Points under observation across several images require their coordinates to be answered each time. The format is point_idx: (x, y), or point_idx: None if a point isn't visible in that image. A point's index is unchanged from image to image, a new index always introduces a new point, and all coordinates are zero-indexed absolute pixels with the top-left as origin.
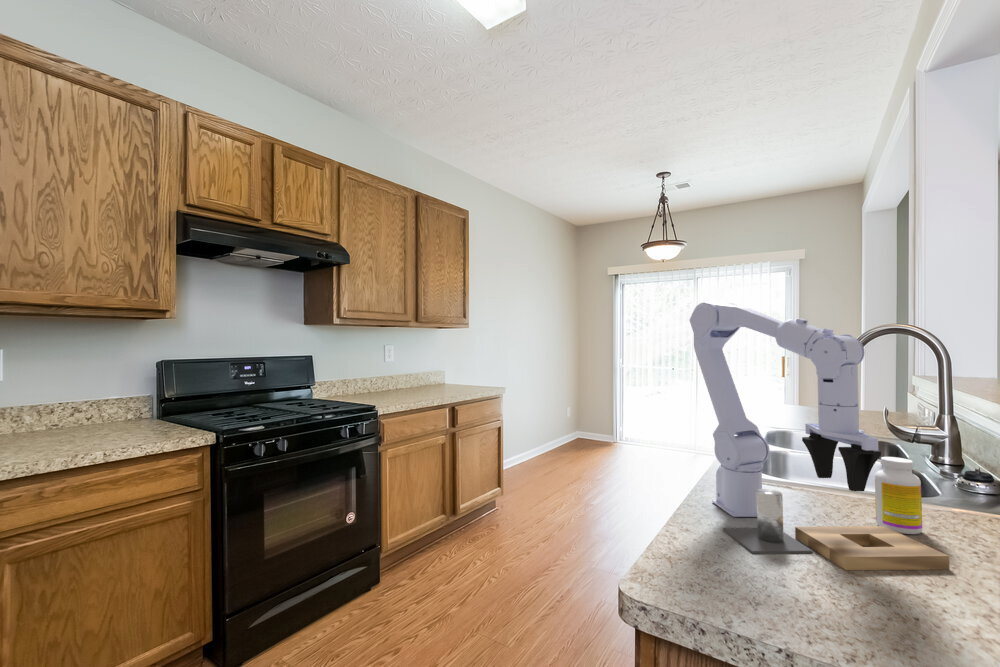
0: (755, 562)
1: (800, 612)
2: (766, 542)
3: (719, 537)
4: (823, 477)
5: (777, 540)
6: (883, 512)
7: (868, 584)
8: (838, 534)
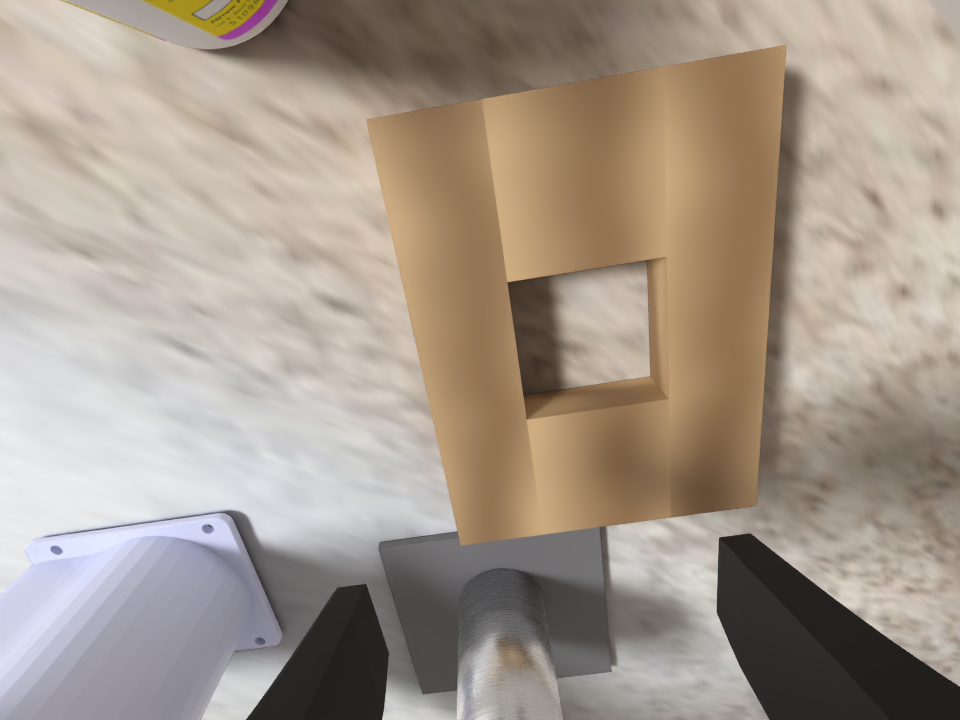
0: (668, 671)
1: (931, 665)
2: None
3: None
4: (381, 637)
5: (543, 602)
6: (198, 21)
7: (829, 459)
8: (531, 425)
